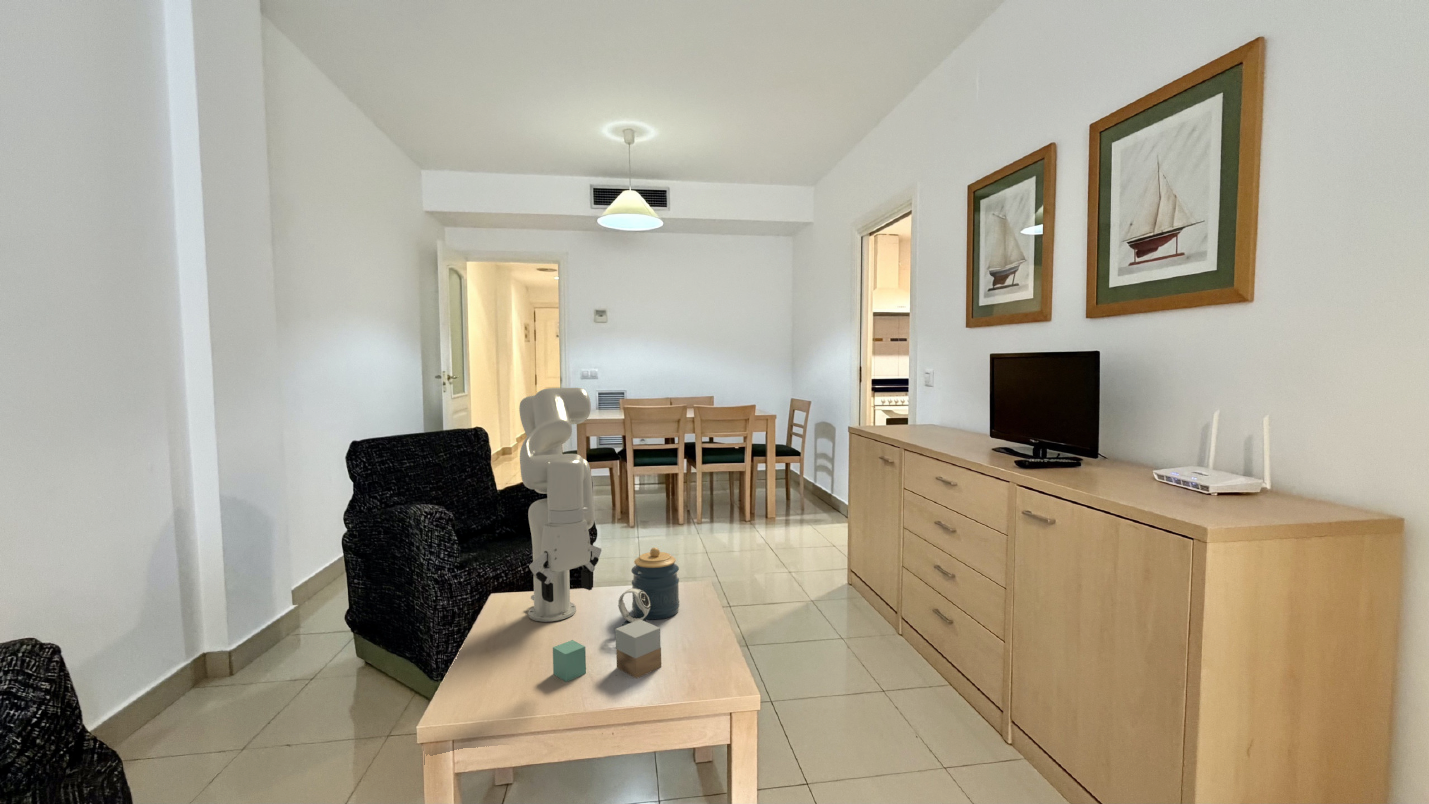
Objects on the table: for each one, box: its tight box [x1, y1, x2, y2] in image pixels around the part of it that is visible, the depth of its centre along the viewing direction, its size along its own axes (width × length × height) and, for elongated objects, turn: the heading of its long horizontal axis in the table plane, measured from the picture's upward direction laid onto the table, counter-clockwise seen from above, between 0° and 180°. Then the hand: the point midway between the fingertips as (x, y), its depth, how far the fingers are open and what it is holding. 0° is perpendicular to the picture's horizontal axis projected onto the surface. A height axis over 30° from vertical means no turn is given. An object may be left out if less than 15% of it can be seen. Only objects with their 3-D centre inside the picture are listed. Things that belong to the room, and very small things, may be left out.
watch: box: [617, 587, 651, 626], centre depth 154 cm, size 6×8×11 cm
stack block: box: [552, 639, 587, 683], centre depth 134 cm, size 5×5×6 cm
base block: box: [615, 647, 662, 679], centre depth 136 cm, size 7×7×4 cm
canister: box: [630, 547, 680, 620], centre depth 168 cm, size 13×13×18 cm
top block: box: [614, 620, 662, 659], centre depth 136 cm, size 7×7×4 cm
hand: (567, 594), depth 133 cm, fingers open, 9 cm apart
